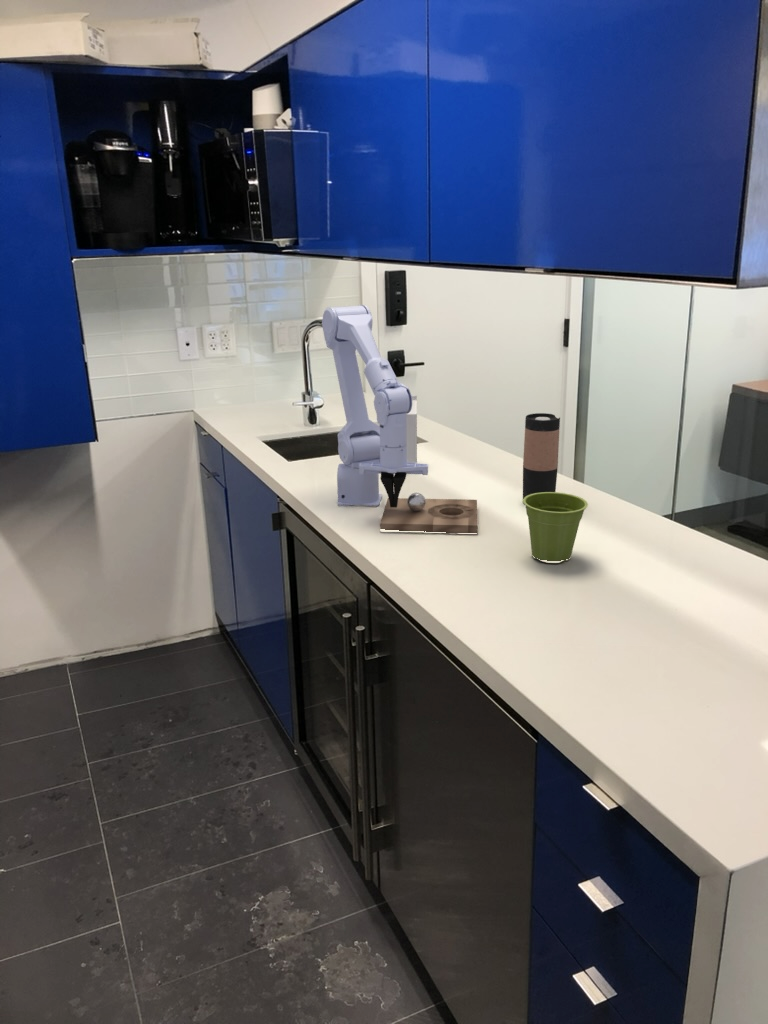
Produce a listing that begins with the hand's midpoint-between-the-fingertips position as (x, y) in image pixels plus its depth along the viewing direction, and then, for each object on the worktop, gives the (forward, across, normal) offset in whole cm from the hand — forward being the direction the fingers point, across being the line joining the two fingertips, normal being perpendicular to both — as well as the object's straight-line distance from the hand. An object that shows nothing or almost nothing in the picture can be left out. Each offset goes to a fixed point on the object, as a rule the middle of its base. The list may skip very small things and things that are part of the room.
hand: (393, 505), depth 179 cm
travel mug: (+3, +32, +13) cm, 35 cm away
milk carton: (+3, -1, +41) cm, 41 cm away
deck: (+3, +8, 0) cm, 8 cm away
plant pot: (+3, +32, -20) cm, 38 cm away
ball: (-1, +5, 0) cm, 5 cm away
